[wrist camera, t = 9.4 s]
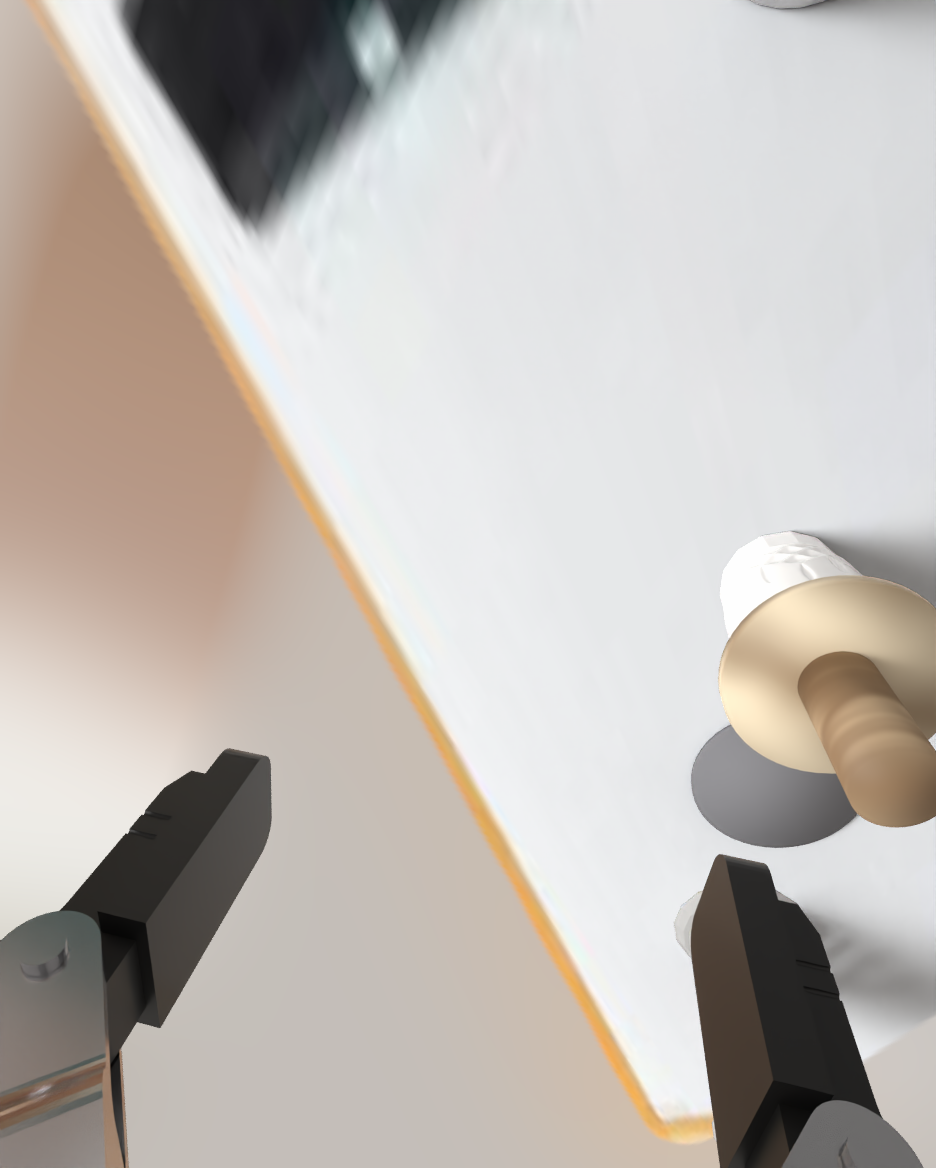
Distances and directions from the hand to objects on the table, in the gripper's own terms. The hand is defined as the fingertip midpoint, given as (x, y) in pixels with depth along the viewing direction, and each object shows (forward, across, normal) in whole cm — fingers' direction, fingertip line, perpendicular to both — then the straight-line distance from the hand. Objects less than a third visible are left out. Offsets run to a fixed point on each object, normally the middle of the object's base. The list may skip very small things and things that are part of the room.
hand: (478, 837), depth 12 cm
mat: (+30, -18, +20) cm, 40 cm away
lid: (+20, -14, +6) cm, 25 cm away
